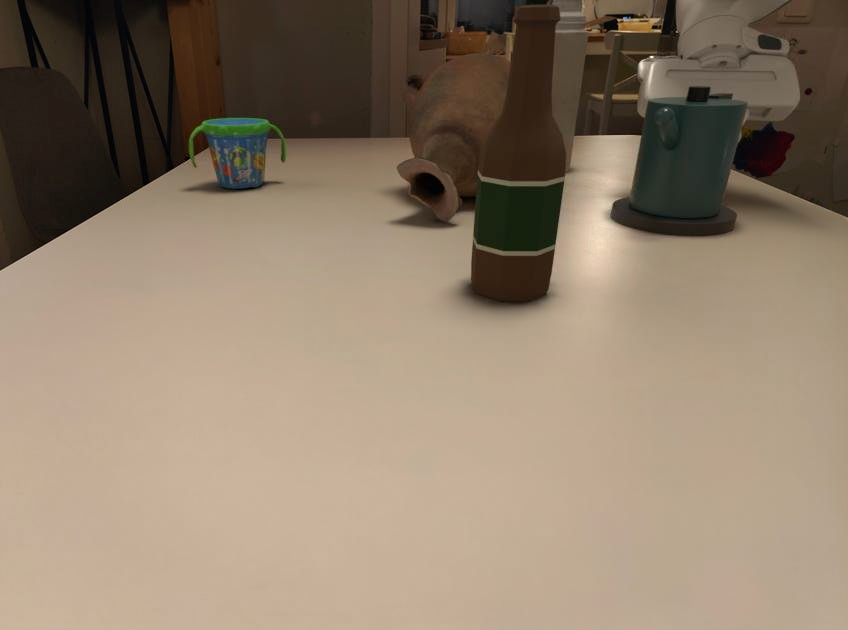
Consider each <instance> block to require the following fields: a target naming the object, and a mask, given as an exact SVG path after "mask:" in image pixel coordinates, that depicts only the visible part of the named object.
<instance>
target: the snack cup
mask: <svg viewBox="0 0 848 630" xmlns="http://www.w3.org/2000/svg"><path fill="white" fill-rule="evenodd" d="M271 129H272V130H273V131H275V133H277V135H278V136H279V138H280V142H281V144H280V145H281V146H280V148H281V149H280V150H281V151H280V152H281V153H280V161H281V163H285V162H286V159H287V144H286V139H285V137H284V135H283V133H282V131H281V130H280V129H279V128H278V127H277V126H276V125H274V124H271V123H270V121H269V120H267V119H264V118H256V117H255V118H253V117H225V118H223V117H222V118H213V119H207V120H203V121H202V123H201V125H199V126H197V127H196V128H194V130H193V131H192V132H191V134H190V136H189V139H188V153H189V159H190V161H191V164H192V166H193V168H194V169H196V168H197V163H196V162H195V150H194V149H195V147H194V138H195V137H196V136H197V135H198V133H199V132H202V133H203V134H204V135H205V136H206V140H207V143H208V149H209V152H210V156H211V160H212V161H211V162H212V165H213V168H214V172H215V176H216V180H217V183H218V186H219V187H223V188H225V189H232V190H240V189H242V190H243V189H248V188H258V187H260V186H261V185H263V183H264V181H265V174H266V173H265V172H266V157H267V155H266V154H267V143H268V139H269V135H270V131H271Z"/></svg>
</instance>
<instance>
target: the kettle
mask: <svg viewBox="0 0 848 630" xmlns="http://www.w3.org/2000/svg"><path fill="white" fill-rule="evenodd" d="M710 89H711V87H707V86H690V87H689V89H688V94H687V97H666V98H653V99H649V100H648V103H647V109H646V114H645V118H643V125H642V131H641V135H640V141H639V147H638V152H637V157H636V162H635V166H634V167H635V168H634V173H633V178H632V184H631V188H630V194H629V197H630V198H629V206H630V207H631V208H633V209H635V210H637V211H640V212H643V213H647V214H652V215H657V216H664V217H673V218H706V217H712V216H715V215H717V214H719V212H720V209H721V206H722V205H723V201H724V197H725V194H726V190H727V187H728V183H729V179H730V174H731V171H732V167H733V163H734V160H735V155H736V153H737V152H736V151H737V147H738V144H739V142H738V140H739V136H740V133H741V134H742V128H743V126H744V124H743V121H744V117H745V113H746V109H747V106H748V103H747V102H745V101H740V100H732V96H733V94H731V93H718V94H712V95H709V94H710ZM742 125H743V126H742Z"/></svg>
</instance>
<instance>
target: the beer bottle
mask: <svg viewBox="0 0 848 630" xmlns="http://www.w3.org/2000/svg"><path fill="white" fill-rule="evenodd" d="M560 20H561V18H560V11H559V7H557V6H555V5H552V4H524V5H521V6H519V7H517V8H516V9H515V12H514V14H513V18H512V22H513V24H515V31H514V37H513V45H512V51H511V59H510V61H511V65H510V72H509V79H508V85H507V92H506V97H505V101H504V105H503V109H502V113H501V114H500V116H499V117H498V119H497V120H496V121H495V123H494V124H493V126H492V127H491V128H490V130H489V131H488V134H487V136H486V138H485V141H484V143H483V146H482V148H481V153H480V160H479V166H478V176H477V190H476V196H475V205H474V206H475V207H474V219H473V233H472V246H471V247H472V248H471V260H470V261H471V262H470V281H471V283H472V287H473V290H474V293H475V294H477V295H479V296H483V297H485V298H489V299H492V300H495V301H498V302H532V301H533V300H536V299H539V297H543V296H544V295H546V294H547V293H548V292H549V289H550V284H551V283H550V282H551V278H552V273H553V266H554V259H555V251H556V246H557V245H556V244H557V239H558V238H557V237H558V230H559V223H560V216H561V207H562V201H563V194H564V186H565V181H566V172H565V168H566V151H565V146H564V141H563V136H562V134H561V132H560V129H559V127H558V125H557V123H556V121H555V119H554V117H553V115H552V96H551V94H552V78H553V62H554V46H555V30H556V24H557V23H558V22H559V21H560Z"/></svg>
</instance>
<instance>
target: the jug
mask: <svg viewBox="0 0 848 630" xmlns="http://www.w3.org/2000/svg"><path fill="white" fill-rule="evenodd" d="M510 65H511V60H509V59H507V58H505V57H503V56H500V55H497V54H492V53H479V52H477V53H475V52H474V53H467V54H464V55H459V56H457V57H454V58H452V59H450V60H448V61H446V62H445V63H442V64H441V65H440V66H438V67H437V68H435V69H434V70H433V71H432V72H431V73H430V74H428V75H424V74H409V75H407V76H406V77H405V79H404V80H403V84H402V85H401V86H402V87H401V98H402V101H403V103H404V105H405V106H406V107H407V109H408V111H409V125H408V137H409V142H410V148H411V151H412V154H413V157H412V158H409V159H405V160H404V161H402V162H400V163H399V164H397V166H396V171H397V173H398V175H399V177H401V179H403V180H405V182H408V190H407V192H408V196H410V197H412V198H414V199H415V200H416V201H418V202H420V204H423V205H424V206H425V207H428V208H430V209H431V210H432V211H433V213H434V215H435V217H436V218H437V219H438V220H440V221H442V222H445V223H446V222H448V221H451V219H452V218H453V217H455V214H456V212H457V211H458V210H459V209H460V208H461V206H462V205H463V199H462V197H463V198H474V197H475V198H476V190H477V176H478V166H479V160H480V153H481V148H482V146H483V143H484V141H485V138H486V136H487V134H488V131H489V130H490V128H491V127H492V126H493V124H494V123H495V121H496V120H497V119H498V117H499V116H500V114H501V113H502V109H503V105H504V101H505V97H506V92H507V85H508V79H509V72H510ZM411 88H412V89H414V90H411ZM415 90H416V91H415Z"/></svg>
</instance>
